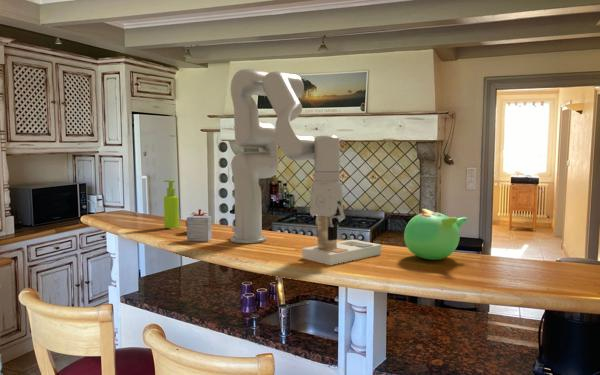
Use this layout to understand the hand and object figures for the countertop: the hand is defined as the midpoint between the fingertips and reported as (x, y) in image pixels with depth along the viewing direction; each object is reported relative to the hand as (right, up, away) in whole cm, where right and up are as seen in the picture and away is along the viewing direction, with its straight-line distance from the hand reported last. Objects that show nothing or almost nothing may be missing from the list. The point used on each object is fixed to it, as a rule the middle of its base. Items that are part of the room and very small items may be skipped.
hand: (327, 238), depth 143 cm
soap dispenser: (-62, -2, +58) cm, 85 cm away
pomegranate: (-48, -3, +46) cm, 67 cm away
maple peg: (0, -3, 0) cm, 3 cm away
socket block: (+5, -6, +3) cm, 8 cm away
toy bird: (+32, -6, 0) cm, 32 cm away
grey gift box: (-44, -4, +30) cm, 53 cm away
